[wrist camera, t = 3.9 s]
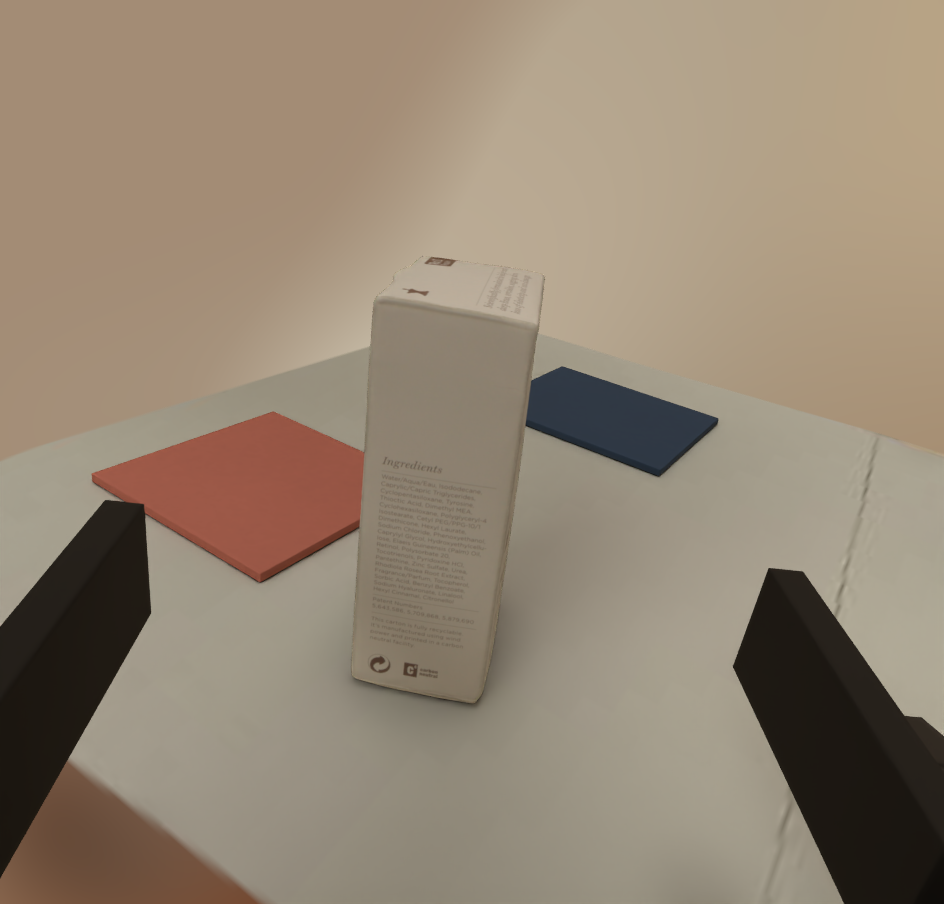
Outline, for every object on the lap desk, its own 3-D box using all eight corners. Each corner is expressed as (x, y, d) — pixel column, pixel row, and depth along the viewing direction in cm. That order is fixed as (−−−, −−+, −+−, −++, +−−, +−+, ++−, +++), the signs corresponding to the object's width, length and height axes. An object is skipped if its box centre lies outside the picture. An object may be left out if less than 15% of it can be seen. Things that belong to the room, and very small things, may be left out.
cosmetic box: (483, 710, 23) (555, 326, 18) (339, 682, 23) (368, 295, 18) (501, 591, 29) (559, 271, 23) (384, 569, 29) (416, 248, 24)
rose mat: (91, 481, 32) (91, 473, 32) (273, 418, 40) (273, 411, 39) (259, 583, 27) (260, 573, 27) (427, 488, 35) (428, 481, 35)
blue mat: (481, 408, 44) (483, 402, 44) (561, 371, 52) (562, 366, 52) (658, 476, 39) (660, 469, 39) (717, 424, 47) (718, 418, 47)
